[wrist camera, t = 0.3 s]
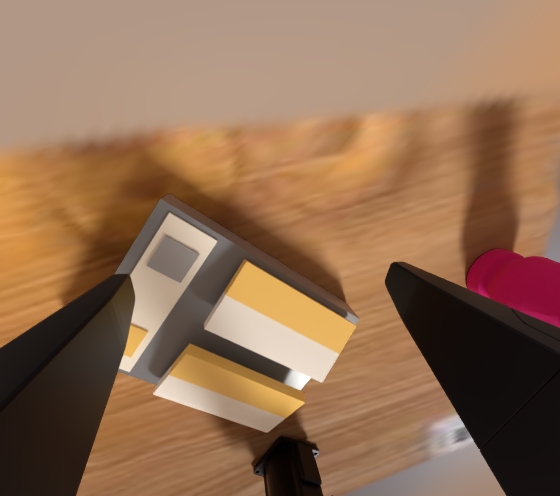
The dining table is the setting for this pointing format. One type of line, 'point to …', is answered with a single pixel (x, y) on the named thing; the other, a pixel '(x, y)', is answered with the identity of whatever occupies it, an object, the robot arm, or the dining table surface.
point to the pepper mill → (519, 283)
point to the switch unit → (196, 292)
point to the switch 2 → (228, 390)
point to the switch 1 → (279, 322)
